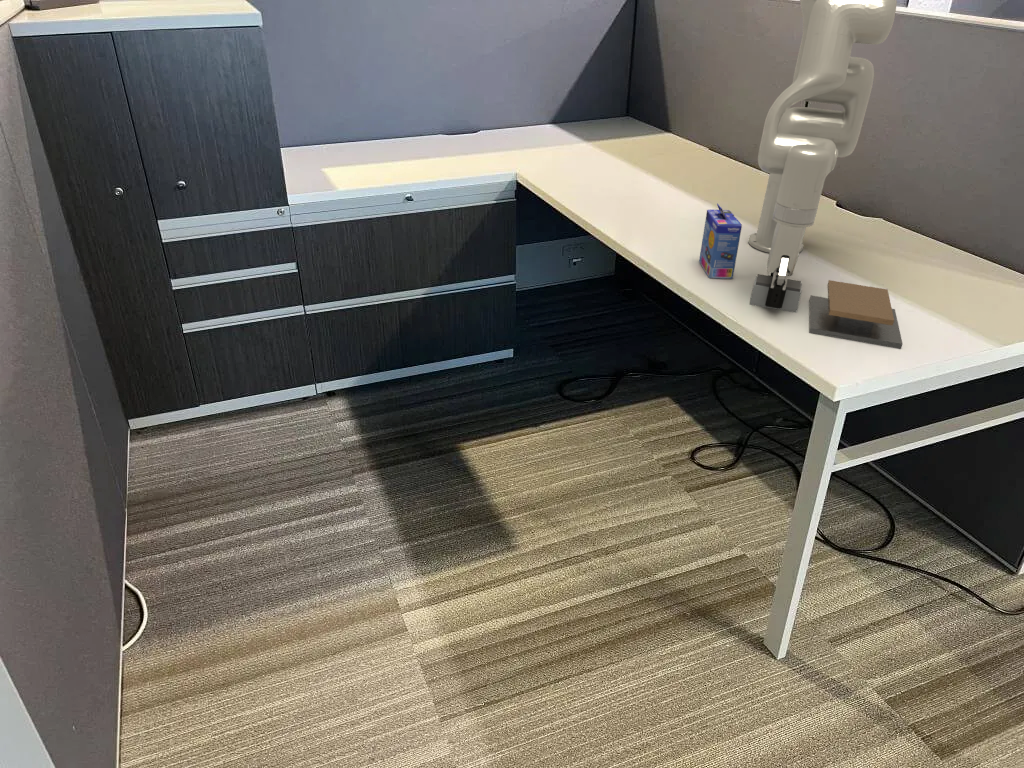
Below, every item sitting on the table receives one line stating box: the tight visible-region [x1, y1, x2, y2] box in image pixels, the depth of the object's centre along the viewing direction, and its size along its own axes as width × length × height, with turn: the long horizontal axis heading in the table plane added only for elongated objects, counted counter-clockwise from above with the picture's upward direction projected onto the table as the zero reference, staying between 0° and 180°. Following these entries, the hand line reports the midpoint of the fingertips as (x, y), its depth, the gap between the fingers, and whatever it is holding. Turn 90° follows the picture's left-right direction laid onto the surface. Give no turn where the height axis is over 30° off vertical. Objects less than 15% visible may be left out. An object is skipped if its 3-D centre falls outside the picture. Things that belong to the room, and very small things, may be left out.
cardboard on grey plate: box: [808, 279, 903, 350], centre depth 146 cm, size 16×16×5 cm
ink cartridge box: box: [698, 203, 743, 280], centre depth 164 cm, size 10×6×14 cm, turn 2°
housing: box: [749, 273, 803, 313], centre depth 153 cm, size 5×9×5 cm, turn 71°
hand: (774, 298), depth 153 cm, fingers open, 7 cm apart
